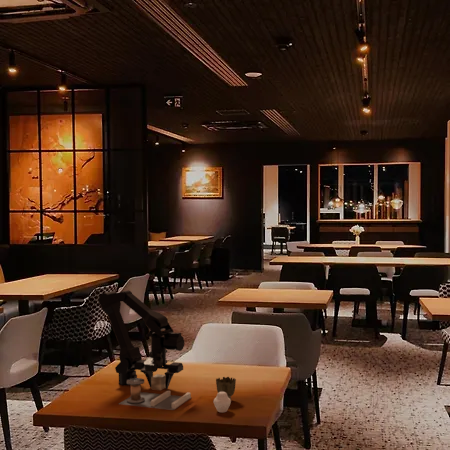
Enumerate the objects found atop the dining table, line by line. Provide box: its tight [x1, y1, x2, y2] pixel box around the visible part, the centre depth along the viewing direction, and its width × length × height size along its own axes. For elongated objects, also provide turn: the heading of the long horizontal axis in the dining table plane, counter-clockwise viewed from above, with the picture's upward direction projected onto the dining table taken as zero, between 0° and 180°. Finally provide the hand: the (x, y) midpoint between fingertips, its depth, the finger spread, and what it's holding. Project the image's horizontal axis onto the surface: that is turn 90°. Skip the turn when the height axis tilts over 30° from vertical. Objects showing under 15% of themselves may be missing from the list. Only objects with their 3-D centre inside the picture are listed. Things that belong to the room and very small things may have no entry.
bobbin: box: [126, 377, 145, 404], centre depth 234 cm, size 6×6×8 cm
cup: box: [215, 376, 237, 401], centre depth 238 cm, size 8×7×8 cm
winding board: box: [118, 390, 192, 411], centre depth 235 cm, size 22×16×3 cm
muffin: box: [212, 392, 232, 413], centre depth 226 cm, size 6×6×7 cm
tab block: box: [151, 373, 166, 391], centre depth 251 cm, size 4×5×6 cm
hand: (158, 388), depth 251 cm, fingers open, 6 cm apart
